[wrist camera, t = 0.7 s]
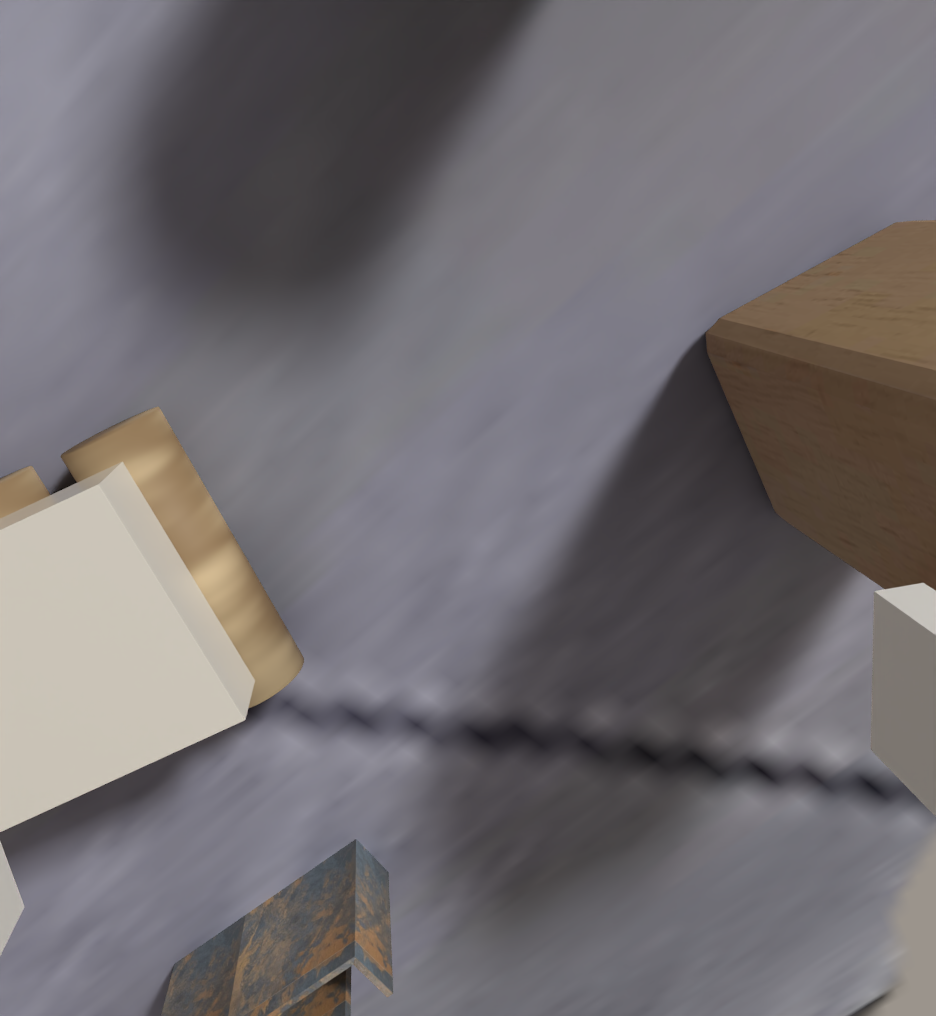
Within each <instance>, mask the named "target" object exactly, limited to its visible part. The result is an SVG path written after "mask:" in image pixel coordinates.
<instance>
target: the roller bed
mask: <svg viewBox="0 0 936 1016" xmlns="http://www.w3.org/2000/svg"><path fill="white" fill-rule="evenodd" d="M61 458H62V460H63V461H64V463H65V464H66V466H67V468H68V469H69V471H70V472H71V474H72V475H73V477H74V479H75V480H76V482H77V483H78V482H80V481H82V480H84V479H86V478H88V477H90V476H93V475H95V474H97V473H99V472H101V471H103V470H105V469H108V468H110V467H112V466H114V465H116V464H118V463H120V462H123V463H124V465H125V466H126V468H127V470H128V471H129V473H130V475H131V476H132V478H133V480H134V481H135V483H136V485H137V486H138V488H139V489H140V491H141V493H142V494H143V496H144V498H145V499H146V501H147V503H148V504H149V506H150V508H151V509H152V511H153V513H154V514H155V516H156V518H157V519H158V521H159V523H160V524H161V526H162V527H163V529H164V531H165V532H166V534H167V536H168V537H169V539H170V541H171V542H172V544H173V546H174V547H175V549H176V551H177V552H178V554H179V556H180V557H181V559H182V560H183V562H184V564H185V565H186V567H187V569H188V570H189V572H190V574H191V575H192V577H193V579H194V580H195V582H196V584H197V585H198V587H199V589H200V590H201V592H202V594H203V595H204V597H205V598H206V600H207V602H208V603H209V605H210V607H211V608H212V610H213V612H214V613H215V615H216V617H217V618H218V620H219V622H220V623H221V625H222V627H223V628H224V630H225V631H226V633H227V635H228V636H229V638H230V640H231V641H232V643H233V645H234V646H235V648H236V650H237V651H238V653H239V655H240V656H241V658H242V660H243V661H244V663H245V665H246V666H247V668H248V669H249V671H250V673H251V674H252V676H253V678H254V679H255V683H254V687H253V691H252V695H251V699H250V703H249V707H248V708H251V707H253V706H255V705H257V704H260V703H262V702H263V701H265V700H267V699H269V698H270V697H272V696H273V695H275V694H276V693H278V692H279V691H280V690H282V689H283V688H284V687H285V686H287V685H288V684H289V683H290V682H291V681H292V680H293V679H294V678H295V677H296V675H297V674H298V673H299V671H300V670H301V668H302V666H303V663H304V658H303V656H302V654H301V652H300V650H299V649H298V647H297V645H296V644H295V642H294V640H293V638H292V637H291V635H290V633H289V631H288V630H287V628H286V626H285V624H284V623H283V621H282V619H281V618H280V616H279V614H278V612H277V611H276V609H275V607H274V605H273V604H272V602H271V600H270V598H269V597H268V595H267V593H266V592H265V590H264V588H263V586H262V585H261V583H260V581H259V579H258V578H257V576H256V574H255V572H254V571H253V569H252V567H251V566H250V564H249V562H248V560H247V559H246V557H245V555H244V553H243V552H242V550H241V548H240V546H239V545H238V543H237V541H236V540H235V538H234V536H233V534H232V533H231V531H230V529H229V527H228V526H227V524H226V522H225V520H224V519H223V517H222V515H221V514H220V512H219V510H218V508H217V507H216V505H215V503H214V501H213V500H212V498H211V496H210V494H209V493H208V491H207V489H206V488H205V486H204V484H203V482H202V481H201V479H200V477H199V475H198V474H197V472H196V470H195V468H194V467H193V465H192V463H191V462H190V460H189V458H188V456H187V455H186V453H185V451H184V449H183V448H182V446H181V444H180V442H179V441H178V439H177V437H176V436H175V434H174V432H173V430H172V429H171V427H170V425H169V423H168V422H167V420H166V418H165V416H164V415H163V413H162V411H161V410H160V408H159V407H155V408H152V409H150V410H147V411H144V412H142V413H140V414H137V415H135V416H133V417H131V418H128V419H126V420H124V421H122V422H120V423H118V424H116V425H114V426H112V427H110V428H108V429H106V430H104V431H102V432H100V433H98V434H96V435H94V436H92V437H90V438H88V439H86V440H85V441H83V442H81V443H79V444H77V445H76V446H74V447H72V448H71V449H69V450H67V451H66V452H64V453H63V454H62V455H61ZM48 496H50V493H49V492H48V490H47V489H46V487H45V486H44V484H43V483H42V481H41V480H40V478H39V476H38V475H37V473H36V472H35V470H34V469H33V467H32V466H29V467H26V468H23V469H20V470H18V471H16V472H13V473H11V474H9V475H7V476H4V477H2V478H0V518H3V517H5V516H7V515H9V514H11V513H13V512H15V511H18V510H20V509H22V508H24V507H26V506H28V505H30V504H33V503H35V502H37V501H39V500H41V499H43V498H45V497H48Z"/></svg>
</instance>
